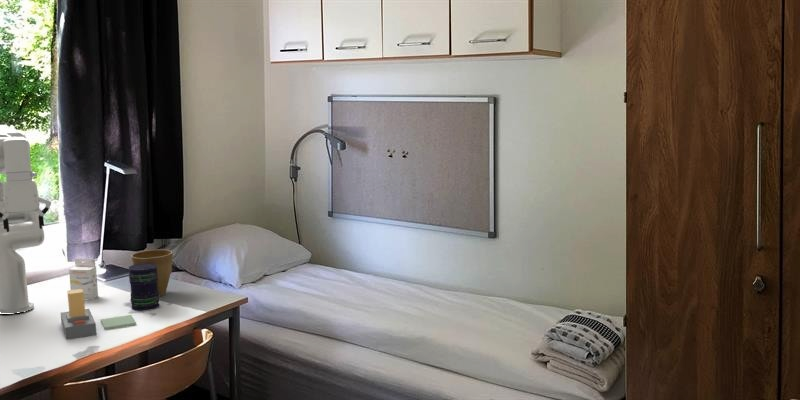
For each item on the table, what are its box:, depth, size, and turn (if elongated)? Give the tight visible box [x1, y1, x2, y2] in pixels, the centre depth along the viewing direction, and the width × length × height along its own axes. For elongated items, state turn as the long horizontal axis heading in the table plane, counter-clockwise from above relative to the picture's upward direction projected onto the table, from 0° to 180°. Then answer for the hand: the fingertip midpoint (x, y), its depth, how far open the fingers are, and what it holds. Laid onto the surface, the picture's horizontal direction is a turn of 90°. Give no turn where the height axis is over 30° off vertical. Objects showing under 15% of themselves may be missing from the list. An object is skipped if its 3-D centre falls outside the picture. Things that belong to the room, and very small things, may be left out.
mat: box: [100, 314, 137, 331], centre depth 264 cm, size 10×10×1 cm
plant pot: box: [130, 249, 174, 297], centre depth 297 cm, size 15×15×16 cm
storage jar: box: [128, 263, 161, 312], centre depth 281 cm, size 10×10×15 cm
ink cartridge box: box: [68, 258, 99, 301], centre depth 294 cm, size 9×5×15 cm, turn 84°
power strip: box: [60, 308, 97, 340], centre depth 258 cm, size 18×9×5 cm, turn 28°
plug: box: [66, 289, 89, 322], centre depth 257 cm, size 6×6×13 cm
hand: (24, 229), depth 254 cm, fingers open, 9 cm apart
